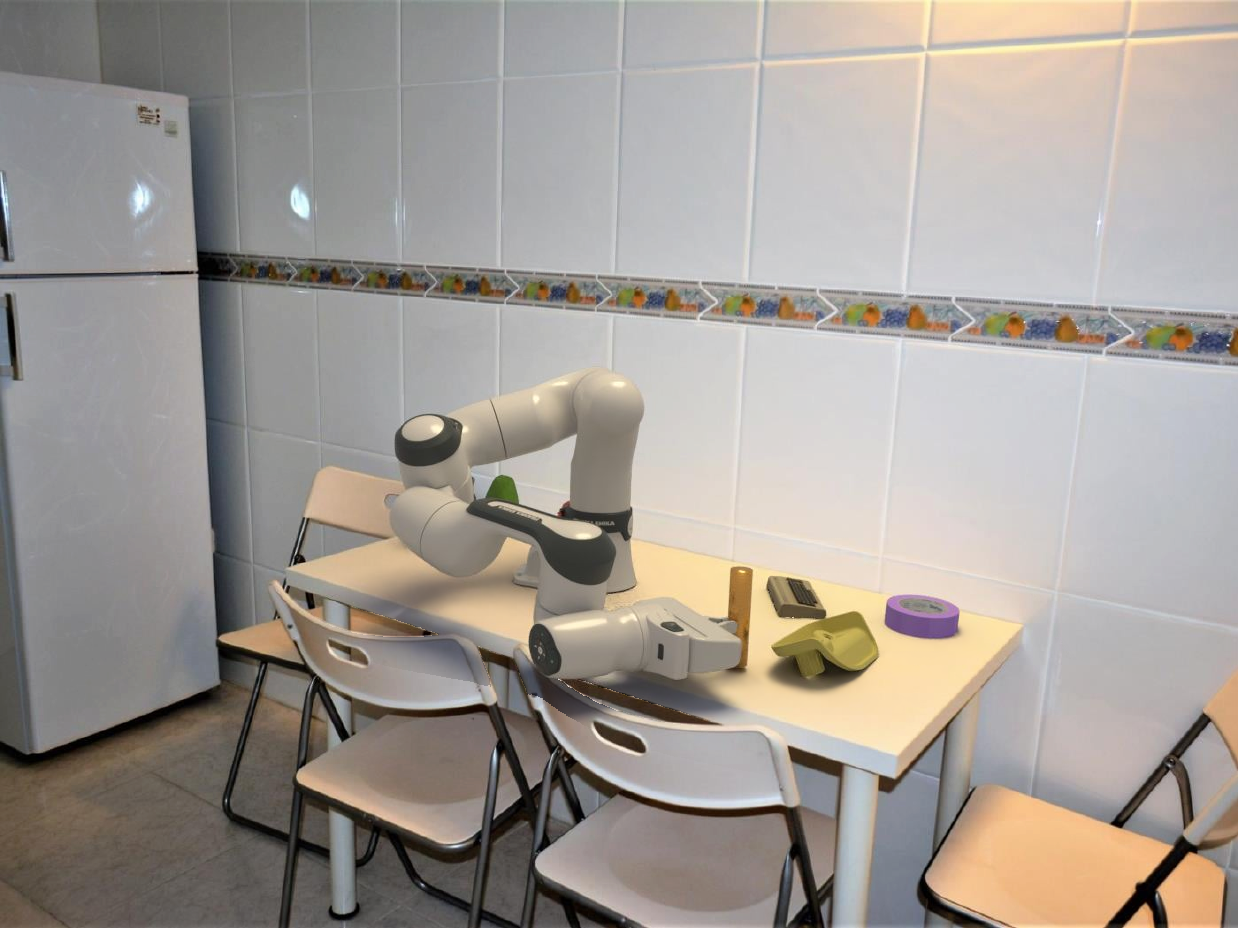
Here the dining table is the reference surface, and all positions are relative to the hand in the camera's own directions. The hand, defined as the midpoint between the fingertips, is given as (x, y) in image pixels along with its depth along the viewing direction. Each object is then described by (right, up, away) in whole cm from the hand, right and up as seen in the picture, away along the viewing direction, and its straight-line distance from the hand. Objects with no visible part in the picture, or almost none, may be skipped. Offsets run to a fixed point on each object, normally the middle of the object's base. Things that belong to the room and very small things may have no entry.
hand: (733, 624), depth 146 cm
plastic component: (+14, -7, +7) cm, 17 cm away
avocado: (-42, +9, +77) cm, 88 cm away
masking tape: (+34, -4, +24) cm, 42 cm away
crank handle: (-3, -5, +7) cm, 9 cm away
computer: (+15, -2, +33) cm, 36 cm away
